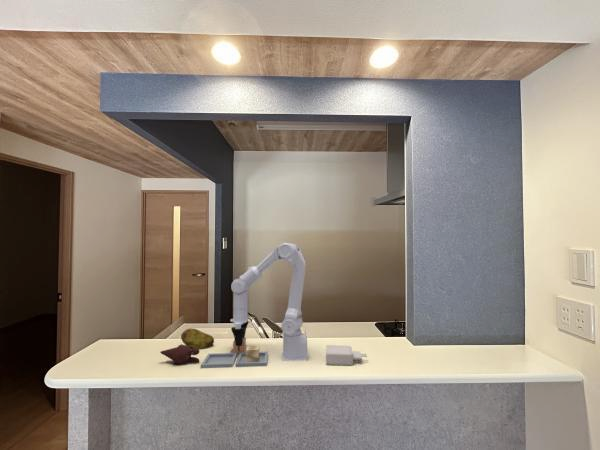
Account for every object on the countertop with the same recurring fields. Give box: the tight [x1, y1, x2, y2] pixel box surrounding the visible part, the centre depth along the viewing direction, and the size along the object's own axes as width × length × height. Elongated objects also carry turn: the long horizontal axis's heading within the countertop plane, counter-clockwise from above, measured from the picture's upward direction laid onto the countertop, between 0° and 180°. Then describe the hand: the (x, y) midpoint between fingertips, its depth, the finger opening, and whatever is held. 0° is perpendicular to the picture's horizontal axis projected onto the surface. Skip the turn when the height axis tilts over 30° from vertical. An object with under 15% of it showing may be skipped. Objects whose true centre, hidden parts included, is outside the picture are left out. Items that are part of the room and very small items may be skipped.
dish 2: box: [234, 351, 269, 368], centre depth 106 cm, size 11×11×2 cm
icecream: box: [159, 343, 200, 365], centre depth 105 cm, size 7×7×15 cm
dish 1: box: [200, 352, 238, 369], centre depth 105 cm, size 11×11×2 cm
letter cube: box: [232, 337, 247, 353], centre depth 116 cm, size 4×5×5 cm
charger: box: [325, 344, 368, 366], centre depth 106 cm, size 5×9×15 cm
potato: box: [180, 328, 215, 350], centre depth 122 cm, size 8×13×8 cm, turn 83°
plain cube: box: [246, 345, 260, 362], centre depth 106 cm, size 4×4×4 cm
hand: (240, 342), depth 116 cm, fingers open, 7 cm apart
